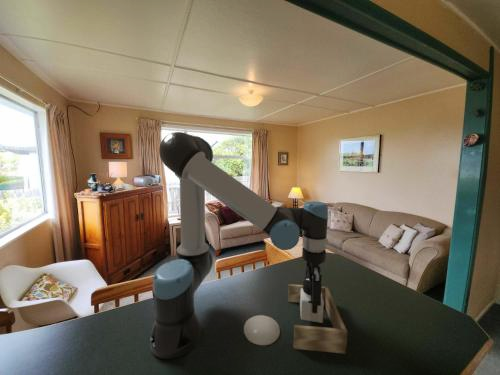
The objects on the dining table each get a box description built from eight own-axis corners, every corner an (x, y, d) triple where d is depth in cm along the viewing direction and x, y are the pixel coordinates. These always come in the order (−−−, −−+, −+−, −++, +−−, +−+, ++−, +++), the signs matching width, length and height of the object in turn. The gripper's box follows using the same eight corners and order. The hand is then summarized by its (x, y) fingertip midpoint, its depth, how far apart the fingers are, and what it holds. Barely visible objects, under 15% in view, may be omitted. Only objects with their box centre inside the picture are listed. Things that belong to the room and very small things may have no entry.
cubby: (293, 348, 62) (294, 327, 61) (288, 300, 83) (288, 284, 83) (345, 353, 60) (347, 332, 59) (326, 303, 82) (327, 286, 81)
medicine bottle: (323, 323, 67) (325, 289, 66) (300, 320, 69) (302, 286, 67) (320, 308, 74) (321, 277, 73) (299, 305, 76) (301, 275, 74)
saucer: (241, 343, 63) (241, 342, 63) (246, 315, 75) (246, 314, 75) (280, 347, 62) (280, 346, 62) (279, 317, 74) (279, 316, 74)
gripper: (334, 263, 58) (330, 336, 61) (318, 237, 78) (315, 293, 81) (307, 261, 59) (304, 334, 62) (298, 236, 79) (296, 291, 82)
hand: (311, 310), depth 71 cm, fingers closed on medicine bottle, 7 cm apart
